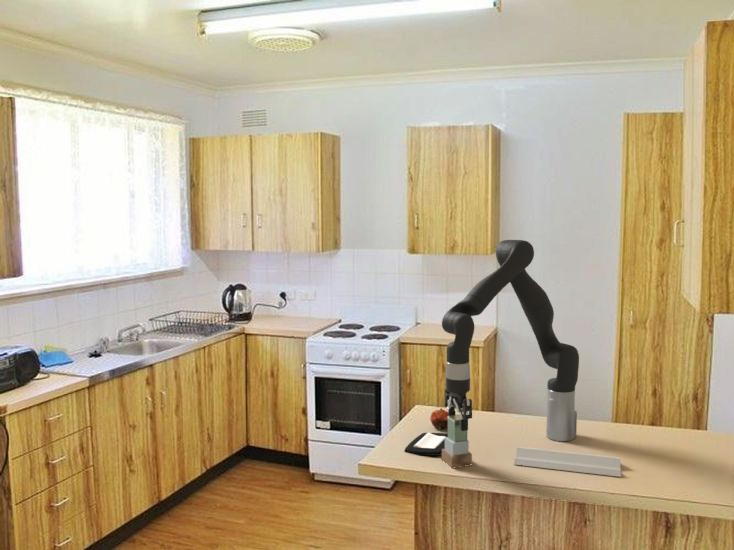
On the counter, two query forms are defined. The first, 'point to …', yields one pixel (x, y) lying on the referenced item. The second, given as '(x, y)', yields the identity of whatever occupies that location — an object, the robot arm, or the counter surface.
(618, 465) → the crown molding
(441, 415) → the pomegranate
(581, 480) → the counter surface
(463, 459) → the base block
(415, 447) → the black flat rectangular tray
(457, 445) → the mid block
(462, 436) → the tea tin
